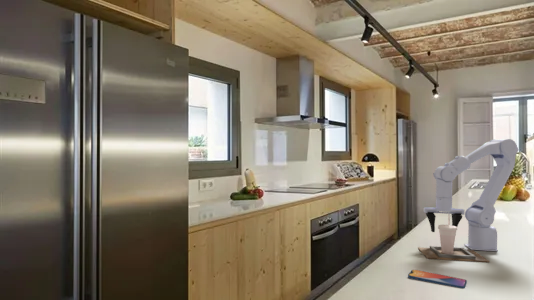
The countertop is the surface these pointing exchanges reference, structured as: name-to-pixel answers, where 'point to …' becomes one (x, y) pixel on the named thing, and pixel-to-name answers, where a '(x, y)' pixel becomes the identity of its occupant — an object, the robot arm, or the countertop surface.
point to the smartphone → (437, 278)
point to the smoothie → (447, 237)
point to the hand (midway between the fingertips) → (443, 232)
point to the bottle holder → (458, 254)
